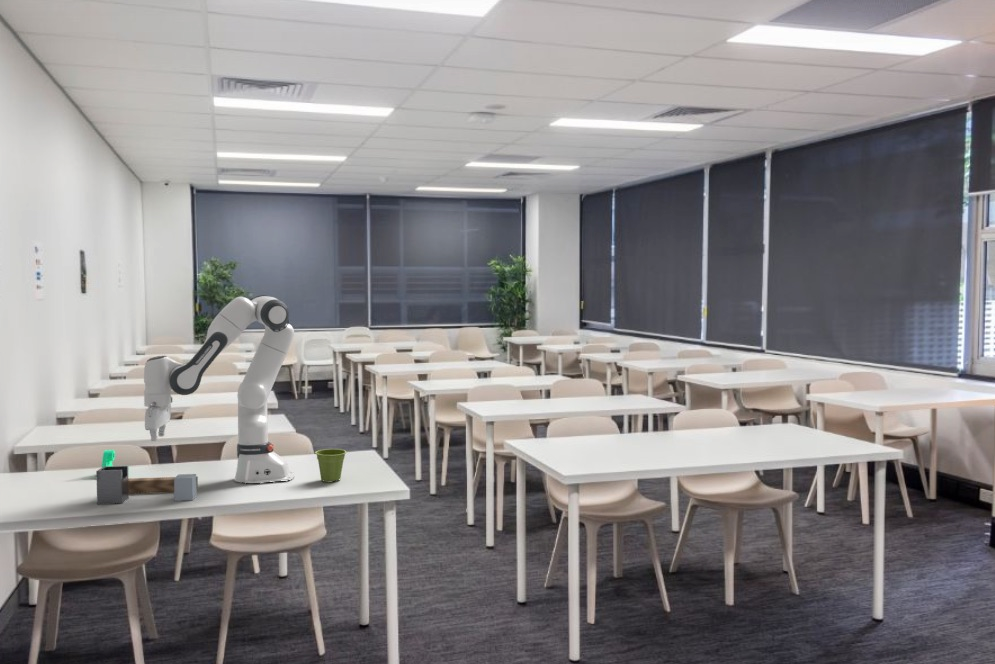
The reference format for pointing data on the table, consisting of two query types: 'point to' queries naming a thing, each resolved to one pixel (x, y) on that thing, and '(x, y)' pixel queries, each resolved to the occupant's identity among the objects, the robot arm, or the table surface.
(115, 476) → the cup bracket
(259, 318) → the robot arm
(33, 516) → the table surface
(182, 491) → the block
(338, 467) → the plant pot
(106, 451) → the camera mount
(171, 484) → the rail
